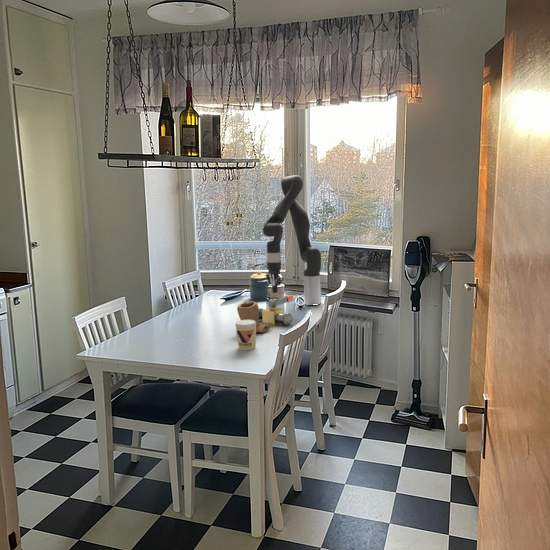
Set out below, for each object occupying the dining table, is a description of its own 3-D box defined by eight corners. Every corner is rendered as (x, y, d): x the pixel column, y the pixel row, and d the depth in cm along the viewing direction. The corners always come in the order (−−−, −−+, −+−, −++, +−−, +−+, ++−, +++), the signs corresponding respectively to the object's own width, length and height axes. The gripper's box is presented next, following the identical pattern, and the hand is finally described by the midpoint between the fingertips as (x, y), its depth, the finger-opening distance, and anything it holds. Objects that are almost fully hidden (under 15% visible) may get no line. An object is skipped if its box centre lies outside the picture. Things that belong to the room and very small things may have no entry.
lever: (273, 307, 295) (272, 302, 294) (267, 306, 298) (267, 301, 297) (294, 300, 308) (293, 295, 307) (288, 299, 310) (288, 294, 310)
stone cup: (234, 334, 282) (232, 304, 279) (244, 327, 293) (242, 298, 290) (262, 336, 277) (261, 306, 274) (271, 329, 288) (270, 300, 285)
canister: (260, 302, 345) (259, 273, 342) (245, 299, 354) (244, 271, 350) (275, 298, 354) (274, 270, 351) (260, 295, 363) (259, 268, 360)
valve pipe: (254, 321, 303) (253, 305, 301) (264, 318, 309) (263, 302, 307) (283, 327, 290) (283, 310, 288) (293, 323, 296) (293, 307, 294)
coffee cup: (234, 351, 256) (233, 325, 254) (239, 344, 265) (237, 319, 263) (255, 351, 255) (254, 324, 253) (259, 344, 264) (257, 319, 262)
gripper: (260, 260, 309) (261, 291, 312) (276, 262, 299) (277, 295, 302) (271, 258, 313) (272, 289, 317) (287, 261, 303) (288, 293, 306)
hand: (275, 292), depth 309 cm, fingers closed
